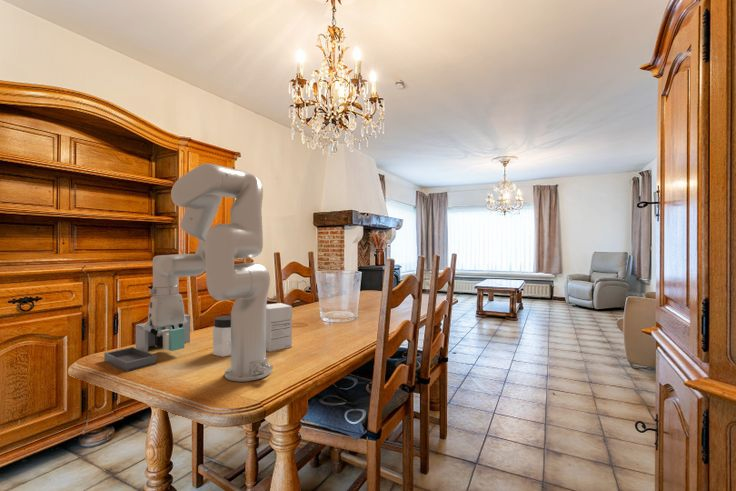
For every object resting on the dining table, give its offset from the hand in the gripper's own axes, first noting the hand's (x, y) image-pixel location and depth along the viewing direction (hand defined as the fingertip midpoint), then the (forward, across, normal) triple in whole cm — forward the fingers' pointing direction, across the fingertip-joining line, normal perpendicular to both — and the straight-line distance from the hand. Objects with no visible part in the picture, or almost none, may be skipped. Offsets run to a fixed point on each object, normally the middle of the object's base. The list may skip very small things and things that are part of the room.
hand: (166, 345), depth 116 cm
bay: (+2, +4, +10) cm, 11 cm away
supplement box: (+4, +26, -24) cm, 36 cm away
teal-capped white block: (0, 0, -1) cm, 1 cm away
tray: (+3, -11, 0) cm, 11 cm away
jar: (+3, +12, -16) cm, 20 cm away
